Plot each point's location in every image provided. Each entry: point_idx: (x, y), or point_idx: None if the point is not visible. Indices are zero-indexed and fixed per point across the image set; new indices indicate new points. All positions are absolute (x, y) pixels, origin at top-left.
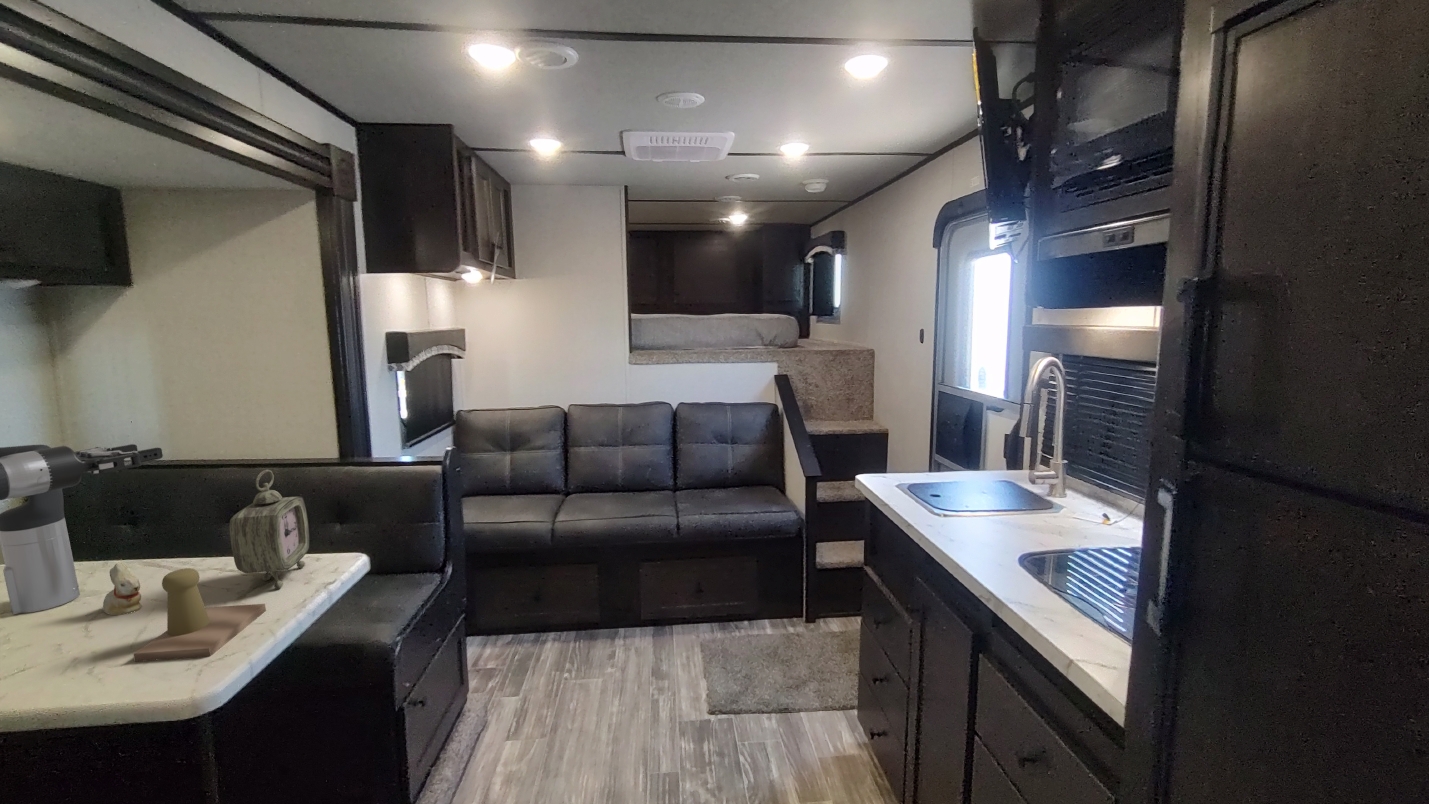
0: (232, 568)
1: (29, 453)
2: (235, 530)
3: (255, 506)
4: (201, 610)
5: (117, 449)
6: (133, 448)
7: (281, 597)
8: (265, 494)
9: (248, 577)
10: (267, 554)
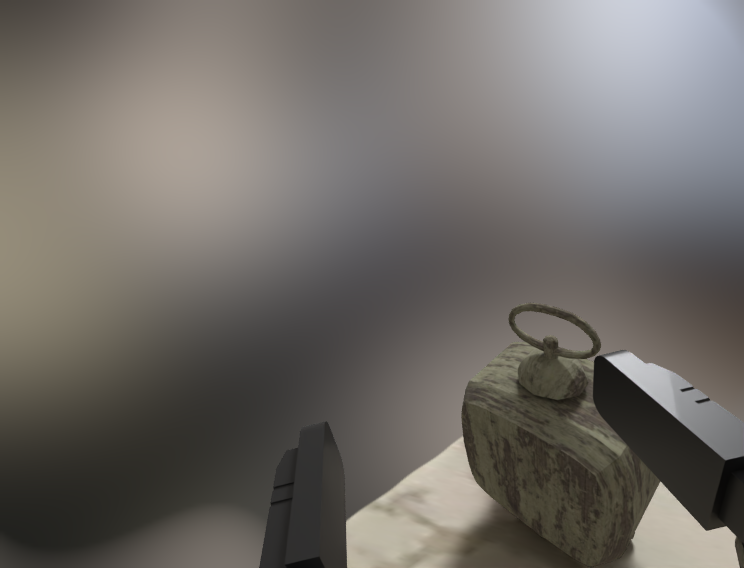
0: (401, 553)
1: None
2: (625, 490)
3: (566, 404)
4: None
5: (323, 535)
6: (331, 450)
7: (693, 552)
8: (573, 363)
9: (490, 551)
10: (653, 491)
